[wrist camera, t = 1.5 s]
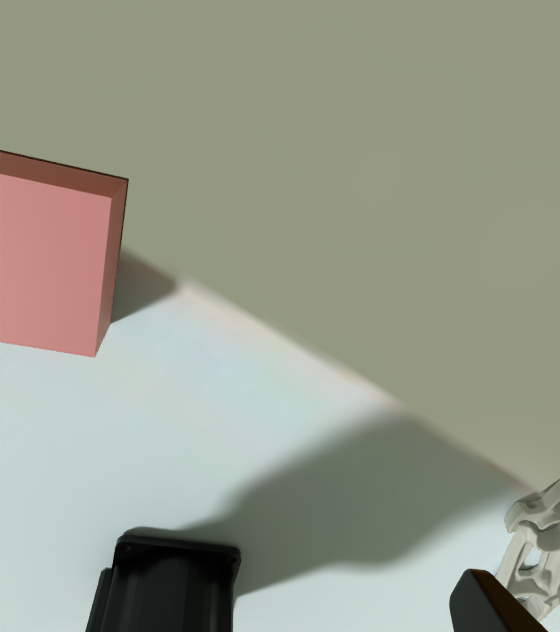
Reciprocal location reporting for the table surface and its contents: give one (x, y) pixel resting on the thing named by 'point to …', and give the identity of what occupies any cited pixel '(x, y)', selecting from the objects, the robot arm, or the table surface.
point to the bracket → (556, 545)
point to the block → (58, 253)
